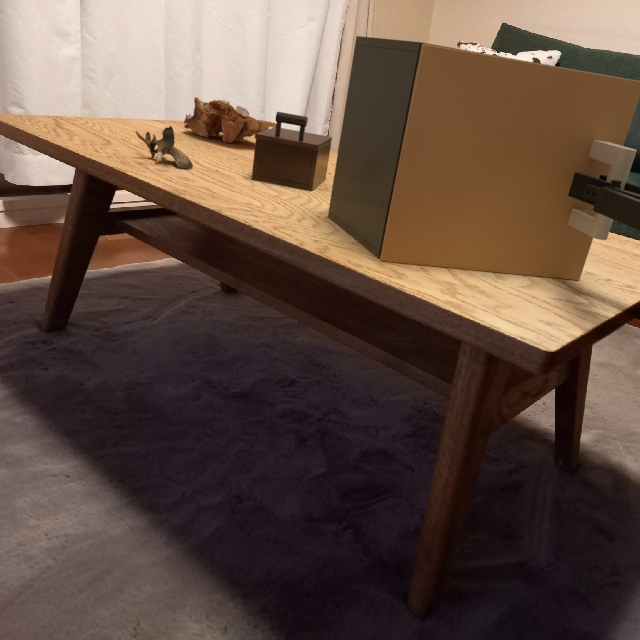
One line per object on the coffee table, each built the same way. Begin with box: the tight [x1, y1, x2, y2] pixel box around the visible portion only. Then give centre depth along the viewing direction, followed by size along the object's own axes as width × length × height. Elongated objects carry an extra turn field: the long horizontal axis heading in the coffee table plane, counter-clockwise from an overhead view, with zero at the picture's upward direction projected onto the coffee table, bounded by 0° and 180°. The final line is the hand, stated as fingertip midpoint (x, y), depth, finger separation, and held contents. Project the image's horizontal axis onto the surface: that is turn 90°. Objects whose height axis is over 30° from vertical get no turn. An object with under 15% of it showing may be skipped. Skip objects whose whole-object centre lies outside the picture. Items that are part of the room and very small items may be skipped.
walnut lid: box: [254, 111, 333, 150], centre depth 109 cm, size 13×11×5 cm
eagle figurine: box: [135, 125, 194, 169], centre depth 109 cm, size 8×7×9 cm
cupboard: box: [327, 35, 569, 259], centre depth 84 cm, size 18×26×24 cm
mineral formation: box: [183, 97, 277, 144], centre depth 140 cm, size 23×16×10 cm
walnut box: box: [251, 139, 332, 192], centre depth 112 cm, size 13×11×7 cm
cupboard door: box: [379, 44, 640, 281], centre depth 71 cm, size 7×26×24 cm, turn 99°
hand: (586, 185), depth 74 cm, fingers open, 3 cm apart
